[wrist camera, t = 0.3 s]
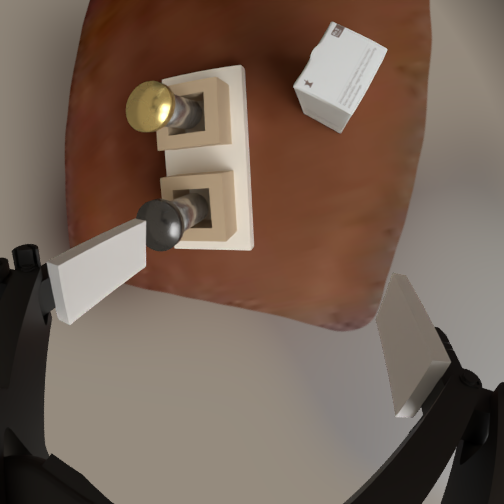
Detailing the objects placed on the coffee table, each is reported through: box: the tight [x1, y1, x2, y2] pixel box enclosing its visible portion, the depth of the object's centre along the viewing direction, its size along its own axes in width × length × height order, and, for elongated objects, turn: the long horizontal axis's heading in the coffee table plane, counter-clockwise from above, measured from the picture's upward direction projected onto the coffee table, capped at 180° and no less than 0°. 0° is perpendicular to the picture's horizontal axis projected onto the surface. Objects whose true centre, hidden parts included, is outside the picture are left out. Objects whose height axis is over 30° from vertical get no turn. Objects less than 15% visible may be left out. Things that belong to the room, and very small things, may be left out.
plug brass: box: [126, 81, 202, 132], centre depth 28 cm, size 5×5×9 cm
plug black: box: [136, 193, 208, 251], centre depth 32 cm, size 5×5×9 cm
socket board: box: [157, 65, 254, 250], centre depth 37 cm, size 26×12×7 cm, turn 3°
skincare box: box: [293, 22, 387, 133], centre depth 27 cm, size 8×6×15 cm
